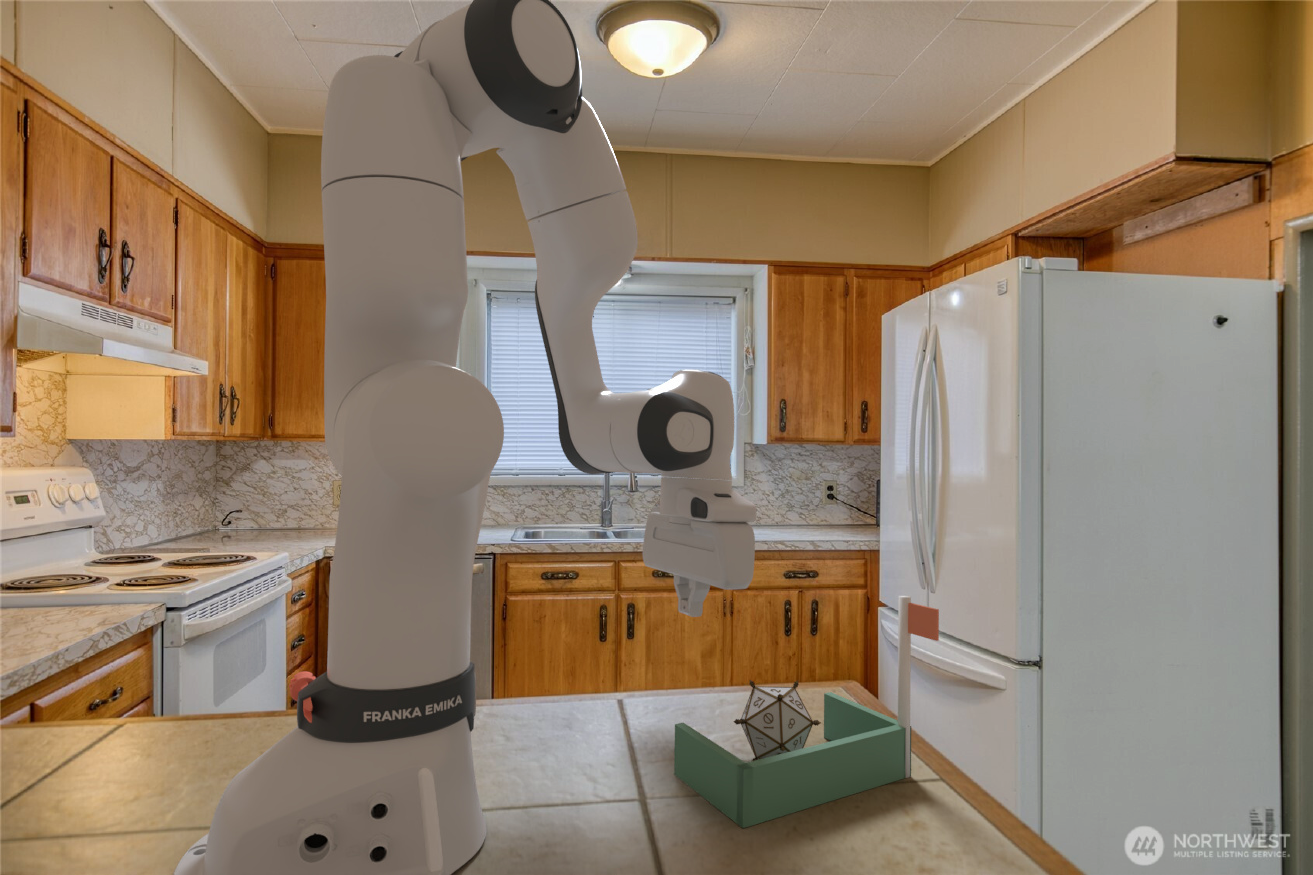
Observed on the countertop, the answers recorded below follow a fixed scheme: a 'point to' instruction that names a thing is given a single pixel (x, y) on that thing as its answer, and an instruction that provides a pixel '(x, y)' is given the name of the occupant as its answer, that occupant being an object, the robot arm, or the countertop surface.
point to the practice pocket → (813, 749)
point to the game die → (775, 720)
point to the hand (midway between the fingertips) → (689, 614)
